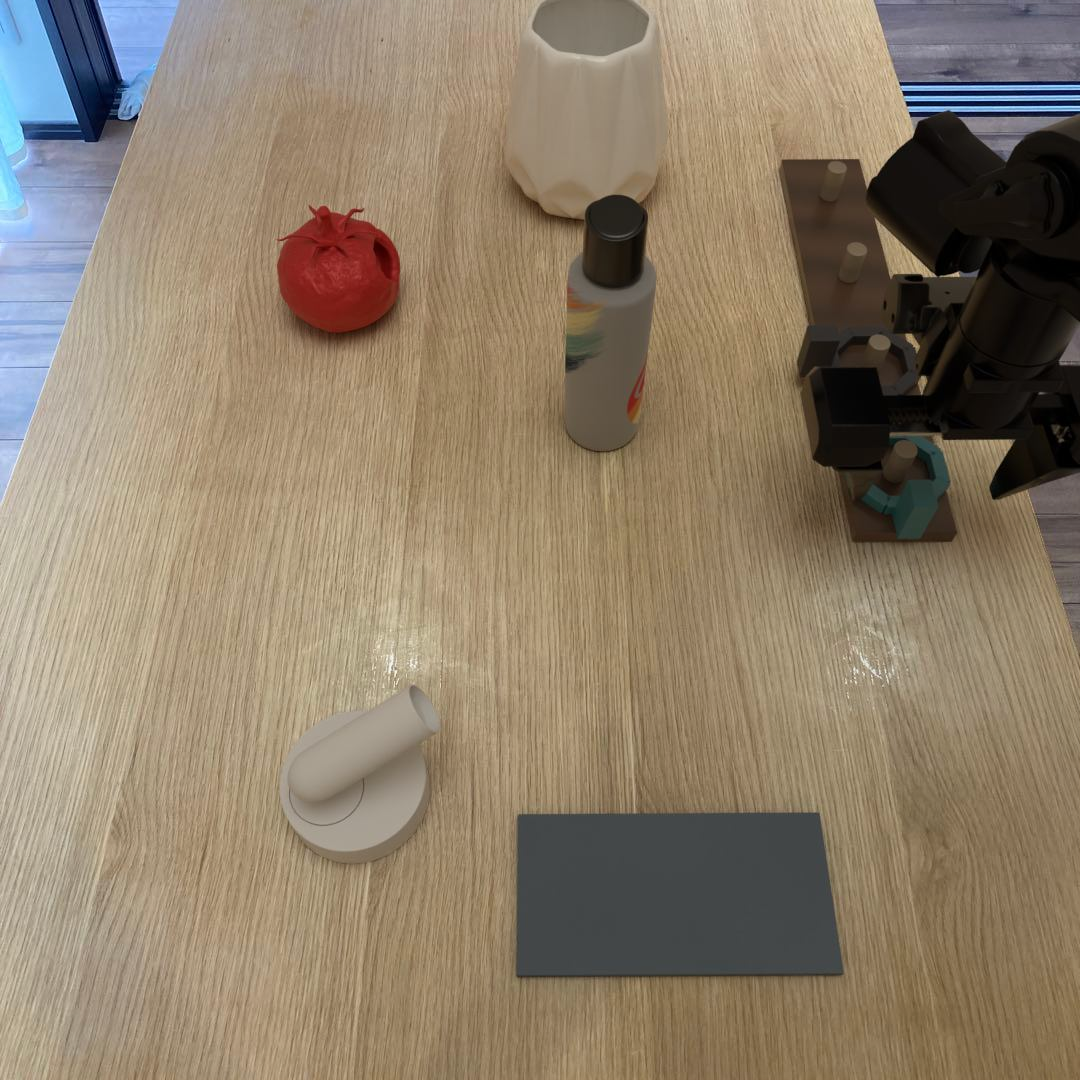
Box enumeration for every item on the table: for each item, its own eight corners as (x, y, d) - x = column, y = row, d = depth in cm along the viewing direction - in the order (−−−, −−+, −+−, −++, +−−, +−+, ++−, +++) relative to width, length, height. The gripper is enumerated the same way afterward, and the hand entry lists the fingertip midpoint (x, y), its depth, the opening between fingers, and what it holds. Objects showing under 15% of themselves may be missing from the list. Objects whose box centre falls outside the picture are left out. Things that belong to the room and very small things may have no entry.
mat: (817, 815, 62) (819, 812, 62) (841, 975, 57) (844, 973, 57) (518, 816, 62) (517, 813, 62) (516, 977, 57) (516, 975, 57)
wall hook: (461, 763, 54) (275, 839, 52) (472, 819, 62) (311, 887, 60) (406, 629, 58) (232, 694, 56) (423, 697, 66) (271, 757, 64)
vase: (563, 257, 88) (566, 97, 75) (477, 167, 94) (466, 5, 81) (694, 196, 92) (718, 35, 79) (603, 114, 98) (611, -48, 85)
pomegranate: (318, 367, 81) (294, 278, 73) (265, 290, 86) (237, 199, 78) (428, 317, 84) (416, 227, 76) (371, 246, 89) (354, 154, 81)
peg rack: (952, 541, 72) (973, 508, 69) (852, 542, 72) (868, 509, 69) (856, 169, 94) (868, 129, 90) (779, 170, 94) (788, 129, 90)
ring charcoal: (906, 335, 81) (921, 297, 78) (924, 403, 78) (941, 367, 74) (791, 335, 81) (802, 298, 78) (804, 404, 78) (816, 368, 74)
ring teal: (837, 436, 76) (850, 400, 73) (932, 435, 76) (950, 400, 73) (857, 539, 71) (873, 506, 68) (959, 538, 71) (980, 506, 68)
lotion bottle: (644, 401, 79) (672, 186, 62) (631, 459, 76) (656, 250, 59) (572, 388, 80) (580, 173, 63) (556, 445, 77) (559, 235, 60)
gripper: (1140, 223, 59) (1032, 399, 73) (816, 225, 60) (767, 401, 73) (1208, 369, 54) (1077, 532, 67) (848, 372, 54) (788, 534, 67)
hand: (923, 494), depth 68 cm, fingers open, 9 cm apart
